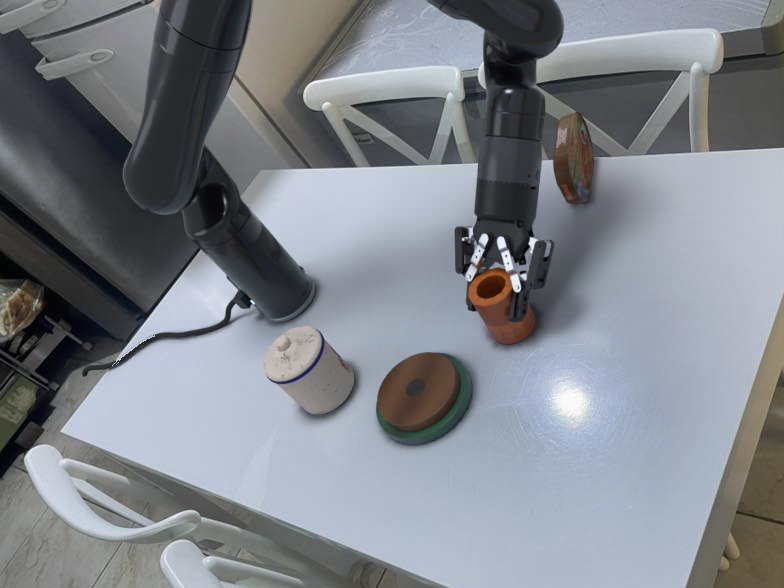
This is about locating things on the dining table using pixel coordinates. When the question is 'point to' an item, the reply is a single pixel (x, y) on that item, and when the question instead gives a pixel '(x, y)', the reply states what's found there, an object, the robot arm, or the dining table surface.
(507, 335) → the orange hollow cylinder
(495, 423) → the dining table surface
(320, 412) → the teacup with lid
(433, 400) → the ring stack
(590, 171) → the tin
